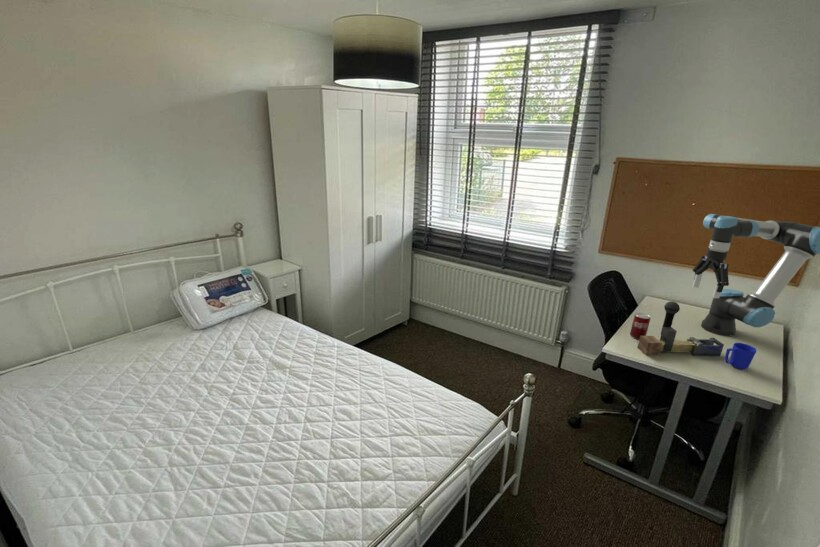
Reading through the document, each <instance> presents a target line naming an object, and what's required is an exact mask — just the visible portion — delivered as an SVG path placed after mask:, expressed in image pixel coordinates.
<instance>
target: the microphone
mask: <svg viewBox="0 0 820 547" xmlns="http://www.w3.org/2000/svg"><path fill="white" fill-rule="evenodd" d="M680 310H681V308H680V305H679V304H678V303H677V302H676V301H668V302H666V303H665V304H664V311H665V317H664V320H663V323H662V328H661V332H660V335H661V334H662V330H663V327H672V325H673V321H674V318H675V315H676V314H677V313H678V312H680Z"/></svg>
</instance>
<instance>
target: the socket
mask: <svg viewBox="0 0 820 547" xmlns="http://www.w3.org/2000/svg"><path fill="white" fill-rule="evenodd" d="M661 346H662V343H661V342H660V339H658V338H657V337H655V335H646V336H640V339H638V344H637V349H638V350H639V351H640V352H642V353H643V355H645V356H659V355H660V352H661V351H660V349H661Z"/></svg>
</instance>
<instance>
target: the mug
mask: <svg viewBox="0 0 820 547" xmlns="http://www.w3.org/2000/svg"><path fill="white" fill-rule="evenodd" d="M725 351H726V352H725V356H724V361H725V363H726V364H728V365H730V366H732V367H734V368H735V369H739V370H747V369H748V368H750V365H751V364H752V361H753V359H754V357H755V356H756V355H755V354H756V353H757V349H756V347H754V346H752V345H749V344H746V343H742V342H735V343H733V346H732V347H730V348H726V350H725ZM729 355H730V356H729ZM729 357H730V359H729Z"/></svg>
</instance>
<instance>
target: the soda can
mask: <svg viewBox="0 0 820 547" xmlns="http://www.w3.org/2000/svg"><path fill="white" fill-rule="evenodd" d="M650 323H651V316H650V315H648V314H647V313H643V312H637V313H634V316H633V318H632V325H631V328H630V331H629V335H630V336H631V337H632V338H633V339H637V340H639V339H640V336H647V334H648V330H649V327H650Z"/></svg>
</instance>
